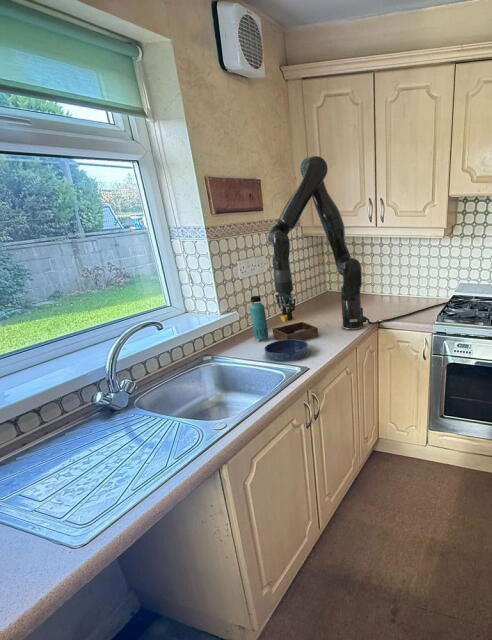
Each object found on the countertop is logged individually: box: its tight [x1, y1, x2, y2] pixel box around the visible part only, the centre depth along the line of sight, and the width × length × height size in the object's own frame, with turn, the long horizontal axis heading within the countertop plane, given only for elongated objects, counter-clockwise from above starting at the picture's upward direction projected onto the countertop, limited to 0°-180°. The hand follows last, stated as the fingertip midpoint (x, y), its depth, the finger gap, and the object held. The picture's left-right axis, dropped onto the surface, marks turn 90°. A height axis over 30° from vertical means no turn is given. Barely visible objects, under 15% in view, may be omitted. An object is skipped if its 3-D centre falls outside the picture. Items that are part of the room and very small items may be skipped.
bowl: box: [264, 339, 310, 363], centre depth 166 cm, size 17×17×4 cm
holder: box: [272, 321, 319, 341], centre depth 186 cm, size 16×14×5 cm
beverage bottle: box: [249, 295, 269, 340], centre depth 180 cm, size 6×7×20 cm
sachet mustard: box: [280, 314, 296, 323], centre depth 181 cm, size 5×4×2 cm
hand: (287, 319), depth 181 cm, fingers closed on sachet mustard, 3 cm apart
